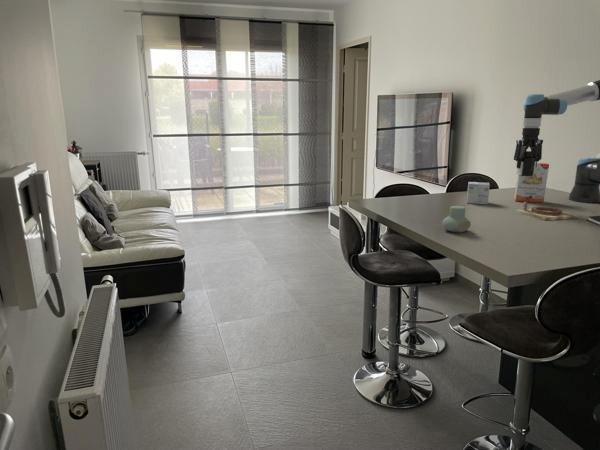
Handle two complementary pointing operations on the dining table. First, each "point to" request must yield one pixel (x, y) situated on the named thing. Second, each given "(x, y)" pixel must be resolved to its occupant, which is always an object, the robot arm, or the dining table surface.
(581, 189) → the robot arm
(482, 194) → the light bulb box
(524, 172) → the supplement bottle
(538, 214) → the seat plate
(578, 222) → the dining table surface
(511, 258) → the dining table surface
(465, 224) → the air freshener
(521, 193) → the cracker box
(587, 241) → the dining table surface
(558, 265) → the dining table surface
